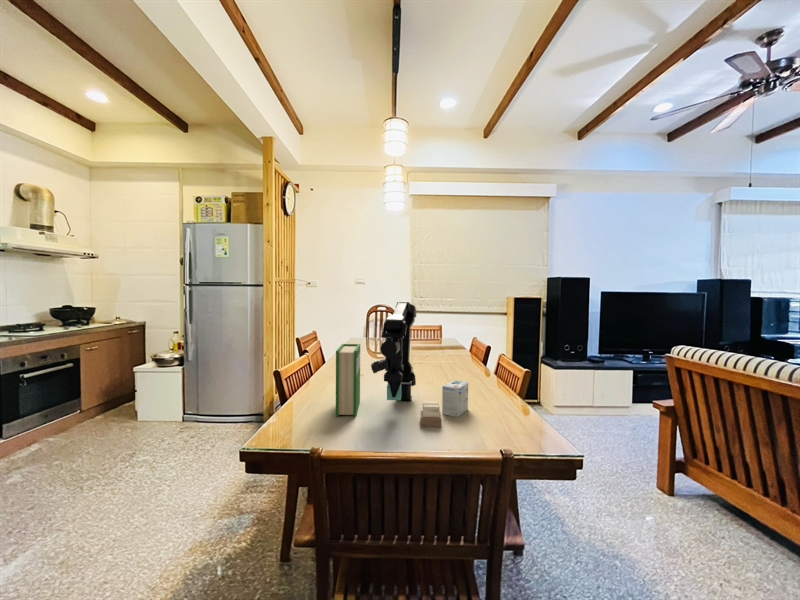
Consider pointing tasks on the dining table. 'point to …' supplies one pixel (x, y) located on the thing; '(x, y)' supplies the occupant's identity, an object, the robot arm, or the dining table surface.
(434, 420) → the walnut slab
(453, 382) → the light bulb box
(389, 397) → the teal cube
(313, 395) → the dining table surface
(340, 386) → the hardback book
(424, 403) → the maple block
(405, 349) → the robot arm
